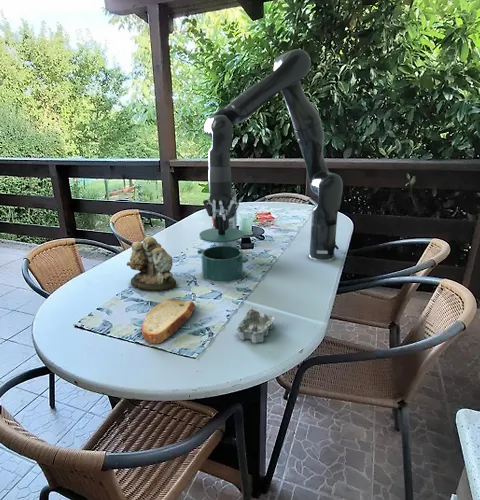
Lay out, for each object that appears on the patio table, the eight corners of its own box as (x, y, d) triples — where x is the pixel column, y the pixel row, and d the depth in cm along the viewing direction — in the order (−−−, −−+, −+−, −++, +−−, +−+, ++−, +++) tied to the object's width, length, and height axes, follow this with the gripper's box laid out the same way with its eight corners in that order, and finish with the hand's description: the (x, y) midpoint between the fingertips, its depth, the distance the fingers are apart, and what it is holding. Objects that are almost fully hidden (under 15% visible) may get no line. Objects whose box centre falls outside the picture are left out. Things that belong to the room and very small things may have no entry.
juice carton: (229, 242, 166) (228, 182, 157) (238, 249, 157) (238, 186, 147) (211, 245, 163) (209, 184, 154) (219, 252, 154) (217, 188, 145)
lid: (215, 228, 138) (214, 208, 135) (252, 234, 129) (252, 213, 127) (190, 240, 126) (189, 218, 124) (228, 247, 118) (228, 224, 115)
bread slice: (147, 347, 92) (146, 334, 91) (131, 314, 108) (130, 303, 107) (212, 329, 99) (211, 317, 98) (188, 301, 114) (187, 290, 113)
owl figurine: (121, 287, 126) (114, 240, 120) (138, 274, 136) (133, 230, 130) (168, 294, 120) (163, 245, 114) (182, 279, 130) (179, 234, 124)
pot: (211, 262, 144) (210, 242, 141) (256, 272, 133) (256, 251, 130) (188, 276, 133) (187, 254, 130) (235, 288, 122) (235, 264, 119)
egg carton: (251, 319, 103) (251, 306, 102) (276, 326, 99) (277, 312, 98) (233, 337, 95) (233, 324, 93) (260, 346, 91) (260, 332, 89)
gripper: (244, 178, 120) (244, 229, 126) (209, 176, 128) (211, 224, 134) (232, 182, 114) (232, 235, 120) (196, 179, 122) (198, 229, 128)
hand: (221, 229), depth 127 cm, fingers closed on lid, 2 cm apart
